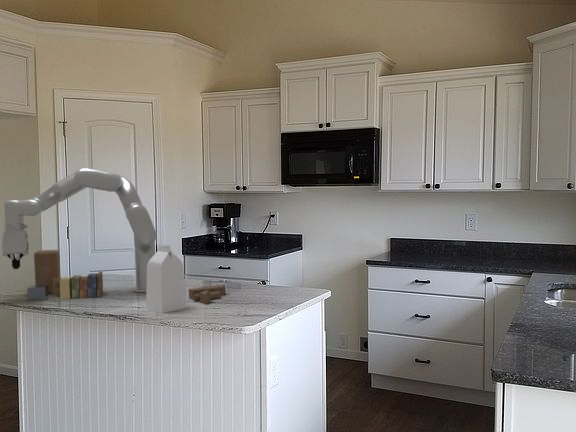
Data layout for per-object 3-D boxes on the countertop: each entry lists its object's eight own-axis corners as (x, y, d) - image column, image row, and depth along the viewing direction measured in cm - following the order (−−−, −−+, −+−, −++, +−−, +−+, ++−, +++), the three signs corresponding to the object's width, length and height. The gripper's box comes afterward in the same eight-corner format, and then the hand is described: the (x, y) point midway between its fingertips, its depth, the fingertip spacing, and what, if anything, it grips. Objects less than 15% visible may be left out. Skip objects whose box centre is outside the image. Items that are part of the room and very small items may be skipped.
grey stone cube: (49, 297, 250) (48, 284, 250) (45, 300, 244) (45, 287, 244) (31, 298, 249) (30, 285, 248) (27, 301, 243) (27, 288, 242)
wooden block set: (186, 286, 242) (223, 282, 251) (186, 299, 242) (223, 294, 252) (202, 292, 227) (240, 287, 237) (202, 306, 228) (241, 300, 238)
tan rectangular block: (72, 296, 252) (71, 276, 252) (69, 298, 246) (68, 279, 246) (63, 296, 251) (62, 277, 251) (60, 299, 245) (59, 279, 245)
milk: (146, 308, 223) (143, 245, 222) (170, 303, 231) (168, 242, 230) (161, 313, 215) (159, 247, 213) (186, 307, 223) (184, 244, 221)
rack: (103, 292, 260) (102, 271, 259) (99, 297, 249) (99, 275, 248) (53, 295, 255) (52, 273, 255) (48, 300, 244) (47, 277, 244)
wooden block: (35, 295, 257) (33, 252, 255) (39, 291, 266) (37, 250, 265) (58, 293, 259) (56, 251, 258) (61, 289, 269) (59, 249, 268)
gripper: (34, 226, 248) (36, 266, 249) (-1, 227, 245) (0, 268, 246) (30, 227, 241) (32, 269, 242) (-7, 228, 238) (-5, 270, 239)
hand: (16, 268), depth 244 cm, fingers closed
